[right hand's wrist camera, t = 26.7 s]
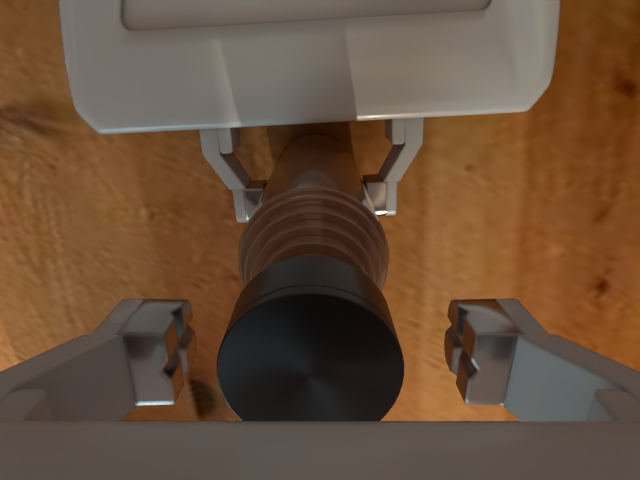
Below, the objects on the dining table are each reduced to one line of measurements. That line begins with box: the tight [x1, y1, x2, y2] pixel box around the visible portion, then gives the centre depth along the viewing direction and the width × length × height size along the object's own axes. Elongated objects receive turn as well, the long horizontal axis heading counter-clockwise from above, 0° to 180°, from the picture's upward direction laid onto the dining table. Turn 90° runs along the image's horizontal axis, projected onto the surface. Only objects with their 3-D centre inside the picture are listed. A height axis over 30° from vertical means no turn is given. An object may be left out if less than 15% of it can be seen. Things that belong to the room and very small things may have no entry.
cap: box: [217, 256, 404, 421], centre depth 9 cm, size 4×4×2 cm
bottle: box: [238, 134, 389, 291], centre depth 18 cm, size 5×5×18 cm
